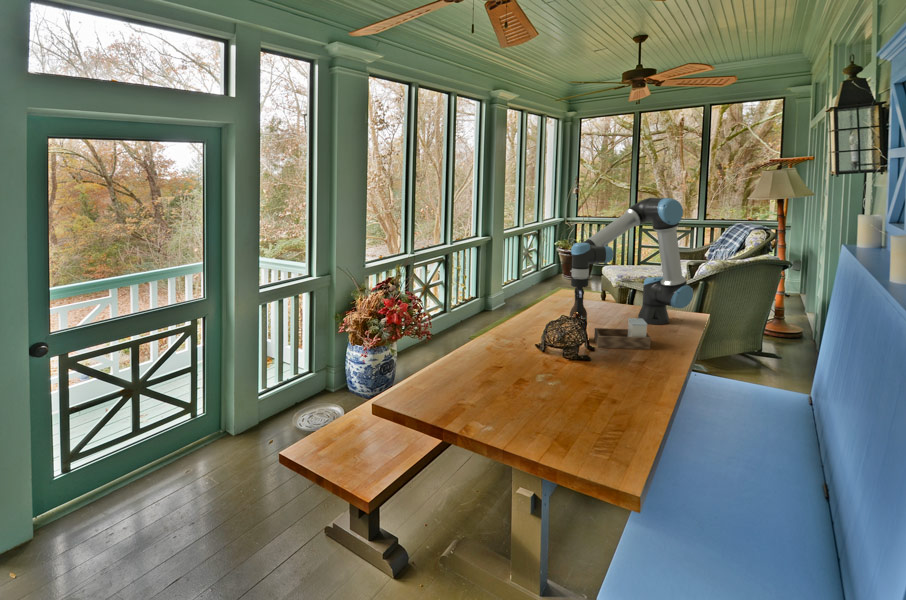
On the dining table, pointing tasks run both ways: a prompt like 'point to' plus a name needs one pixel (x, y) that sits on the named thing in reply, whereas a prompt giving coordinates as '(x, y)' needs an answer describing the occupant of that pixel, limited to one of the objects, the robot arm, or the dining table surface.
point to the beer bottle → (574, 309)
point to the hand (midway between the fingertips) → (577, 326)
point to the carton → (637, 327)
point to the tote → (619, 339)
